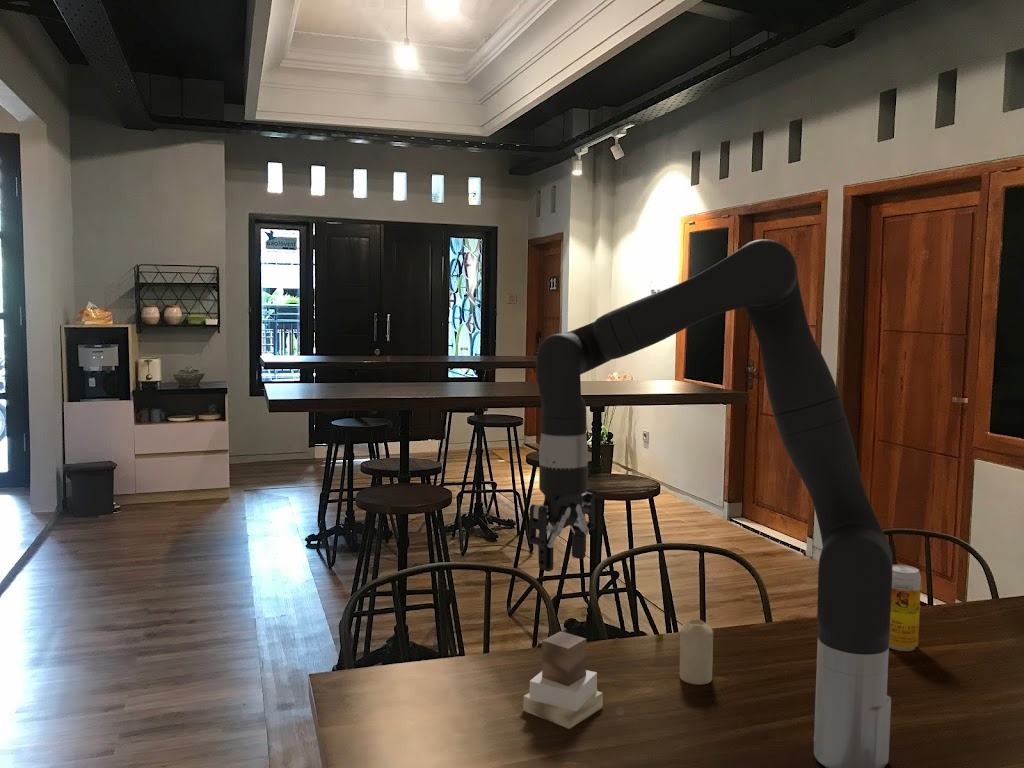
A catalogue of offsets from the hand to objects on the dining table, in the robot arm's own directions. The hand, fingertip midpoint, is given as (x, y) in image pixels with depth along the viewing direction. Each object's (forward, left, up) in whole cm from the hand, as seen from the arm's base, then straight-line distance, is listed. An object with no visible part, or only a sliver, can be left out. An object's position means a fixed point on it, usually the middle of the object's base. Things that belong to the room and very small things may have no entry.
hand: (562, 563), depth 131 cm
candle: (-11, -24, -24) cm, 36 cm away
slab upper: (0, 0, -21) cm, 21 cm away
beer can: (-34, -62, -24) cm, 75 cm away
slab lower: (0, 0, -24) cm, 24 cm away
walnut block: (0, 0, -18) cm, 18 cm away
